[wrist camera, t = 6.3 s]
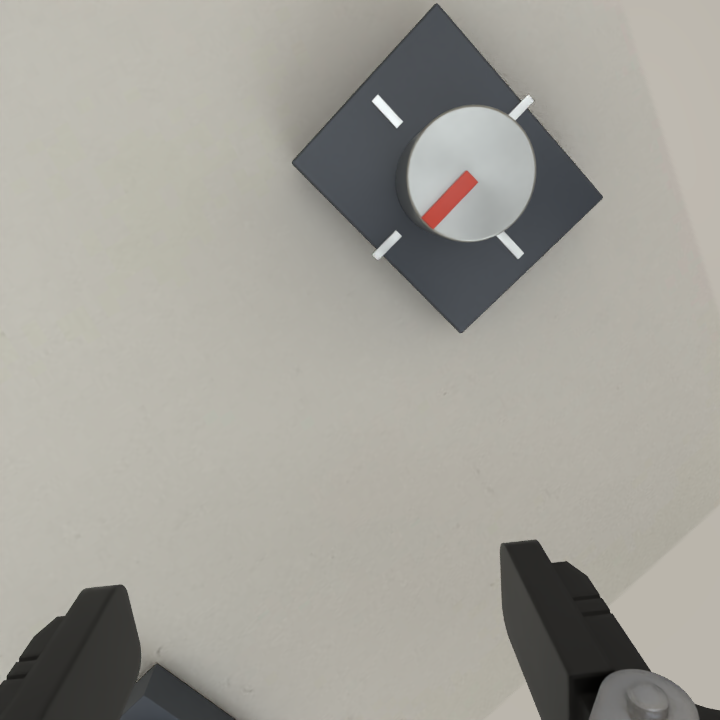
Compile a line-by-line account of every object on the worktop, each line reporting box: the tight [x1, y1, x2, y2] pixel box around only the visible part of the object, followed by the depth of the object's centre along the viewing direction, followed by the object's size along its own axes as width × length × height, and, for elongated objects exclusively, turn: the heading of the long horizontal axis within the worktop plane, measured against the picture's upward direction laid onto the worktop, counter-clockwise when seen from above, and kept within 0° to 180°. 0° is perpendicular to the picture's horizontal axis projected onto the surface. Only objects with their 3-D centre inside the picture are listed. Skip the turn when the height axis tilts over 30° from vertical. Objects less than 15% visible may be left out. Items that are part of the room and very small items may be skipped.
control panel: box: [292, 3, 603, 333], centre depth 24 cm, size 10×9×3 cm
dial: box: [396, 105, 536, 242], centre depth 21 cm, size 4×4×4 cm
